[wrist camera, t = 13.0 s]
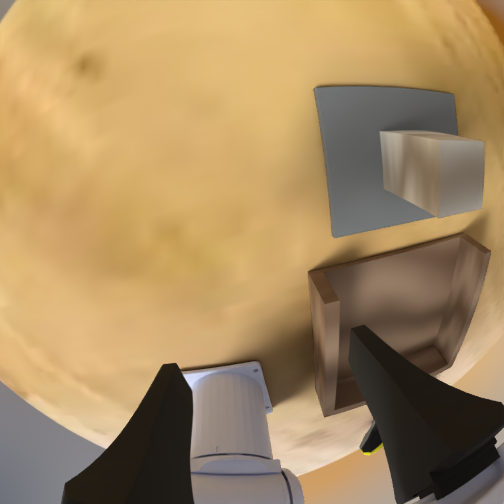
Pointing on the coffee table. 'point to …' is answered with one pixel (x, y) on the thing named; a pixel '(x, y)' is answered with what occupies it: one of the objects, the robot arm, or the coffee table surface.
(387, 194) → the mat
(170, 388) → the robot arm
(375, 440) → the gaming controller
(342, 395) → the crate
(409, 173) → the block
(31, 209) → the coffee table surface
